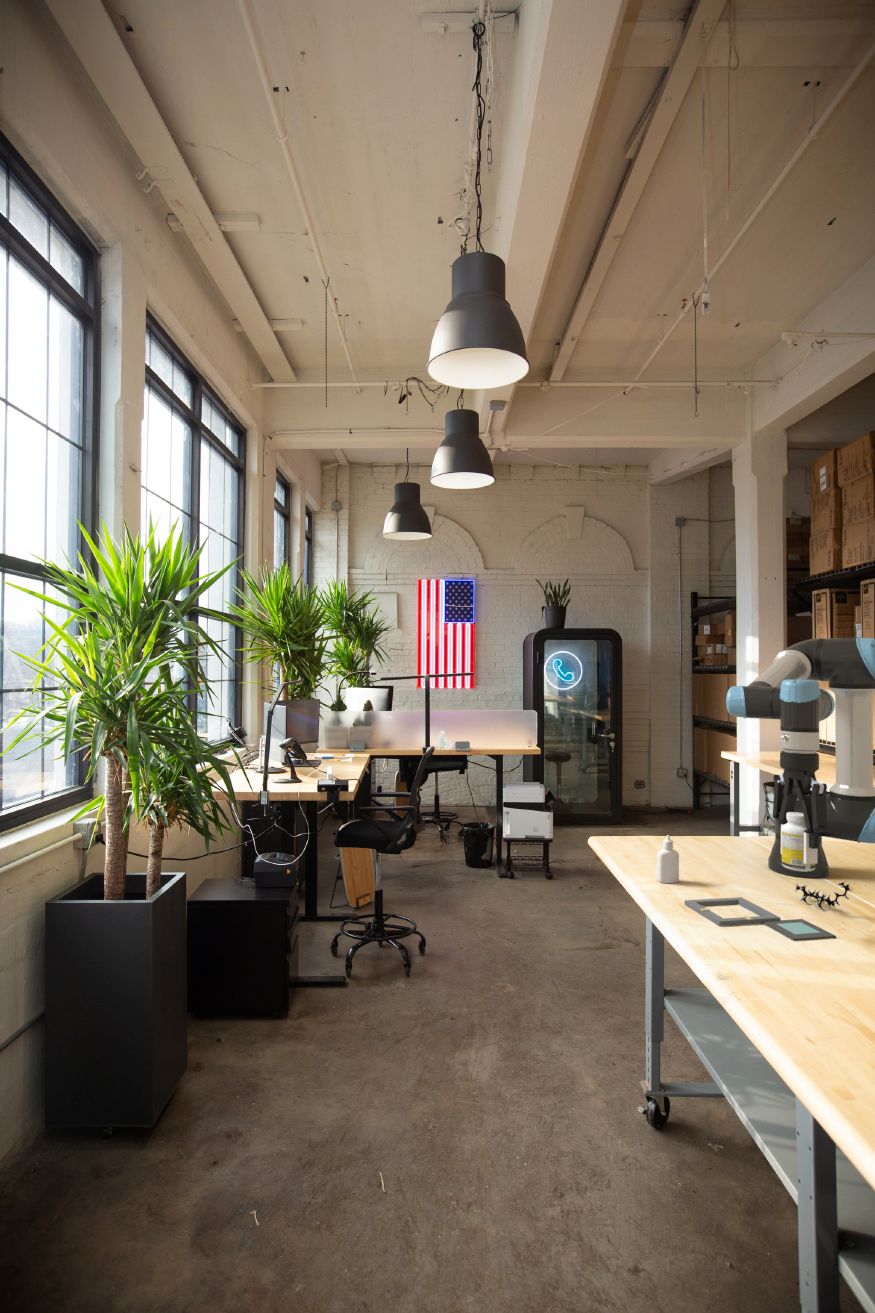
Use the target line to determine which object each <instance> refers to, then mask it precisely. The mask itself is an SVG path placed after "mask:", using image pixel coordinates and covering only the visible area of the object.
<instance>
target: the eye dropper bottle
mask: <svg viewBox="0 0 875 1313" xmlns="http://www.w3.org/2000/svg"><path fill="white" fill-rule="evenodd" d="M670 836H671V835H668V834H667V835H666V837H665V839H663V840H662V849H660V850H658V851H657V853H656V881H657V882H658V883H661V884H674V883H675V884H676V883H678V882H679V881H680V853H679V852H678V851H677V850H675V849H674V841H673V840H671V837H670Z"/></svg>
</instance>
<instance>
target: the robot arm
mask: <svg viewBox="0 0 875 1313" xmlns="http://www.w3.org/2000/svg"><path fill="white" fill-rule="evenodd" d="M820 682H828V689H829V690H830V691H831V693H833V694H834V696H832V694H831V693H830V692H829V691H827V690H825V689H823V688H821V687H820ZM874 694H875V638H873V637H860V636H858V637H841V638H840V637H837V638H835V637H834V638H833V637H832V638H819V637H818V638H811V639H806V640H803V641H800V642H797V643H794V644H793V645H790V646H788V647H786V648H784V649H783V650H781V651H780V652H779V653H778V654H777V655H776V656H775V657H774V659H773V662H772V664H771V665H770V666H769V667H768V668H767V669H766V670H764V671H763V672H762V673H760V675H758V677H756V678H755V679H754V680H752V682H750V683H749V684H748V685H747V686H746V685H736V686H734V685H733V686H730V688H729V689H728V690H727V694H726V699H725V700H726V701H725V703H726V710H727V712H728V714H729V715H730V716H731V717H734V718H735V717H736V718H743V719H762V720H763V719H764V720H765V719H766V720H780V727H779V728H780V736H779V737H780V739H779V742H780V746H779V747H780V749H782V751H780V752H779V767H780V768H781V769H783V772H782V774H774V775H773V776H772V777H773V784H774V790H773V806H772V818H773V819H774V821H775V822H774V824H775V825H774V827H775V828H774V832H775V833H774V834H775V835H774V838H775V839H774V843H773V845H772V849H771V851H770V854H769V857H768V859H767V861H768V864H767V867H768V868H769V869H770V870H772V871H774V872H777V873H778V874H783V875H786V876H792V877H799V878H809V879H810V878H811V879H812V878H815V879H816V878H825V877H828V876H829V874H830V866H829V863H828V859H827V856H826V853H825V850H824V848H823V837H824V838H832V839H837V840H842V841H843V840H845V841H850V842H857V843H865V844H873V845H874V844H875V785H874V754H873V753H874V743H873V742H874V741H873V740H874V738H873V736H874V735H873V734H874V733H873V729H874V727H873V726H874V721H873V720H874V719H873V714H874V713H873V710H874V709H873V704H874V702H873V695H874ZM833 712H835V713H834V714H835V716H834V717H835V719H834V720H835V722H834V723H835V724H834V725H835V726H834V727H835V730H834V731H835V733H834V734H835V735H834V736H835V783H834V785H832V786H830V787H829V793H827V789H828V784H827V783H821V782H819V781H818V780H817V777H816V772H817V771H819V769H820V754H819V753H818V751H819V750H820V722H821V721H824V720H826V719H828V718H829V717H830V716H831V715H833ZM787 812H801V813H803V815H804V819H805V824H806V828H807V830H804V863H805V864H815V869H814V870H813V871H809V872H802V871H794V870H790V869H787V868H785V867H784V866H783V865H782V827H783V825H785V824H787V823H788V820H787V818H786V813H787Z"/></svg>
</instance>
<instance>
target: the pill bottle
mask: <svg viewBox="0 0 875 1313" xmlns="http://www.w3.org/2000/svg"><path fill="white" fill-rule="evenodd" d="M786 818H787V820H788V823H787V824H785V825H783V827H782V865H783V866H784V867H785V868H787V869H790V870H794V871H802V872H809V871H813V870H814V869H815V864H805V863H804V830H807V828H806V824H805V819H804V815H803V813H801V812H787V813H786Z"/></svg>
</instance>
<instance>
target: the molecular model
mask: <svg viewBox="0 0 875 1313" xmlns="http://www.w3.org/2000/svg"><path fill="white" fill-rule="evenodd" d="M845 883H846V879H842V882H841V883H840V882H836V885H837V886H840V888H844V893H843V894H839V892H836V891H834V890H833V891H832V893H833V894H834V895H835V899H834V900H831V899H830V897H831V894H826V893H825V892H822V895H821V896H820V894H819V893H820V892H821V890H820V889H817V890H816V889H813V892H811V890H810V889H806V888H807V887H808V884H803V885H802V886H799V885H798V883H797V882H795V884H794V885H795V887H794V888H795V889H794V892H795V893H796V892H797V891H798V890H800V891H802V893H803V895H802V896H801V897H800V898H799V901H800V902H802V901H803V902H804V903H805V905H809V903H808V901H807V899H808V900H810V899H811V898H814V899H815V900H816V902H815V905H814V906H813V907H815V908H820V909H821V911H825V910H824V908H823V906H822V904H825V903H826V907H827V909H828V910H830V909H831V906H832V909H833V910H836V907H835V905H837V906H839V907H840V906H841V904H840V903H839V901H838V899H839V898H840V897H842V898H844V899H846V900H850V898H849V897H848V896H847V892H853V888H850V884H851V882H850V881H848V882H847V884H846V885H845Z"/></svg>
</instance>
